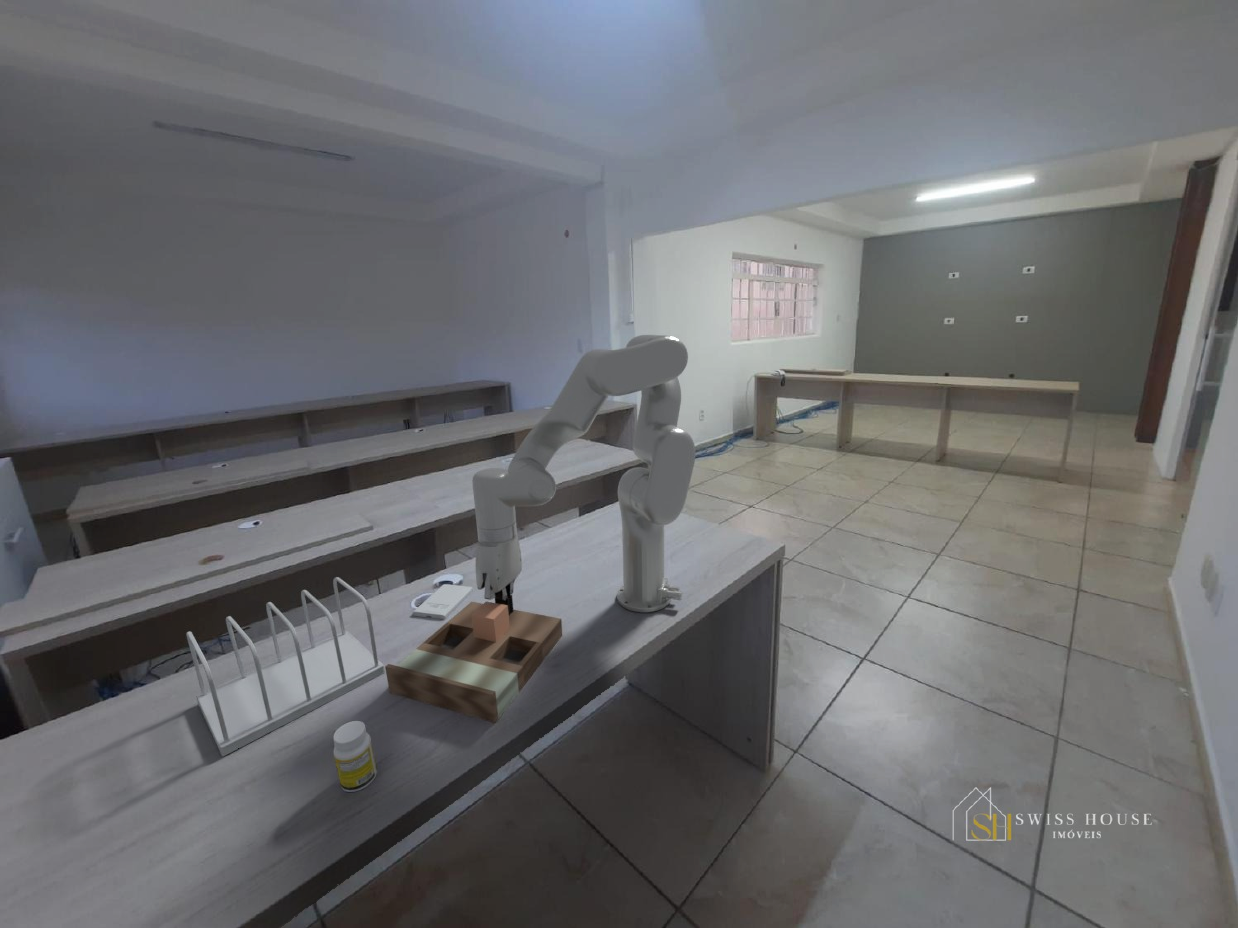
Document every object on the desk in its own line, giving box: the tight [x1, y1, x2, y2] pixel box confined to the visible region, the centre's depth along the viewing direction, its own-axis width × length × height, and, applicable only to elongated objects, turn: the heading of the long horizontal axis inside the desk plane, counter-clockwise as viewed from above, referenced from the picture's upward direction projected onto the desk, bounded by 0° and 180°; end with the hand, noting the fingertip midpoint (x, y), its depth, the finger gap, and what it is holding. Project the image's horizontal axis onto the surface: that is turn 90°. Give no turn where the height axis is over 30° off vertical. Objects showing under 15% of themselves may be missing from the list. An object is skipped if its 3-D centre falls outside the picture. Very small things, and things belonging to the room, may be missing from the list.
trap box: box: [384, 601, 563, 724], centre depth 95 cm, size 22×25×6 cm
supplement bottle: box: [332, 720, 378, 793], centre depth 70 cm, size 5×5×8 cm
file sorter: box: [185, 576, 386, 757], centre depth 88 cm, size 25×17×16 cm
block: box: [471, 601, 510, 642], centre depth 98 cm, size 5×5×5 cm
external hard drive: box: [412, 583, 474, 620], centre depth 117 cm, size 2×8×12 cm
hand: (504, 612), depth 103 cm, fingers closed
